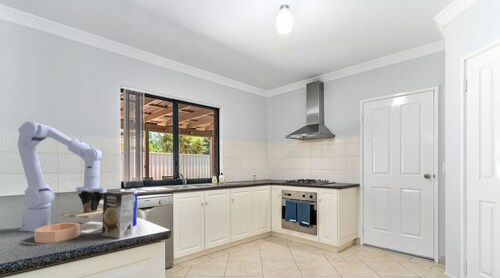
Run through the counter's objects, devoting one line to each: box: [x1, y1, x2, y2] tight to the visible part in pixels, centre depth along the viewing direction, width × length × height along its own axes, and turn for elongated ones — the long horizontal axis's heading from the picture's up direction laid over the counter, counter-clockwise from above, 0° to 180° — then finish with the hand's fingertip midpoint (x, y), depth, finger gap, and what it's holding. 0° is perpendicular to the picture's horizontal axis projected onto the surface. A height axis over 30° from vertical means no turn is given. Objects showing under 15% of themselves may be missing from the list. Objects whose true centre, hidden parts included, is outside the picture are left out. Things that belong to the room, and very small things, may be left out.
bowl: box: [33, 222, 81, 245], centre depth 95 cm, size 13×13×4 cm
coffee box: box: [101, 190, 134, 240], centre depth 99 cm, size 9×6×16 cm
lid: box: [61, 203, 103, 219], centre depth 110 cm, size 14×14×4 cm
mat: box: [79, 221, 103, 234], centre depth 110 cm, size 15×15×1 cm
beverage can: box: [124, 189, 138, 227], centre depth 112 cm, size 5×5×15 cm
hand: (90, 209), depth 110 cm, fingers closed on lid, 3 cm apart
